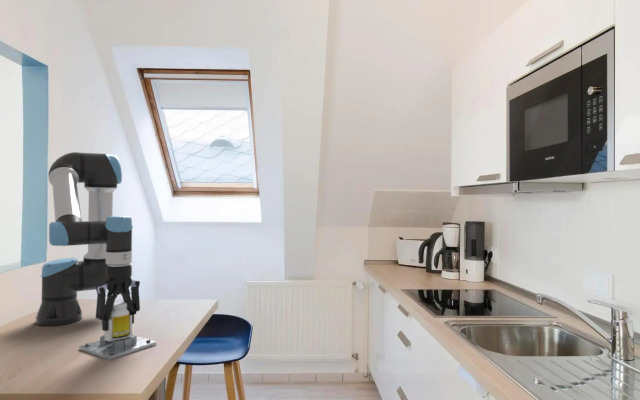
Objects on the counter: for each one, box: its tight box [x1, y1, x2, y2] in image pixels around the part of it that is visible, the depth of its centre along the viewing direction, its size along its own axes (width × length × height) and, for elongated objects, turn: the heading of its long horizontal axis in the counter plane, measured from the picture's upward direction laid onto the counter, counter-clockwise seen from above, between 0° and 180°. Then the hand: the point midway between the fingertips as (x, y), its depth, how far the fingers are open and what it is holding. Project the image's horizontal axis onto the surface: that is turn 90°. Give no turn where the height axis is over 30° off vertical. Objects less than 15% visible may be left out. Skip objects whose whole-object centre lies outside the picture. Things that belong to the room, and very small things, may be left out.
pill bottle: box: [110, 301, 129, 341], centre depth 137 cm, size 6×6×11 cm
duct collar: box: [78, 333, 157, 361], centre depth 137 cm, size 16×16×4 cm
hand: (118, 337), depth 137 cm, fingers closed on pill bottle, 6 cm apart
